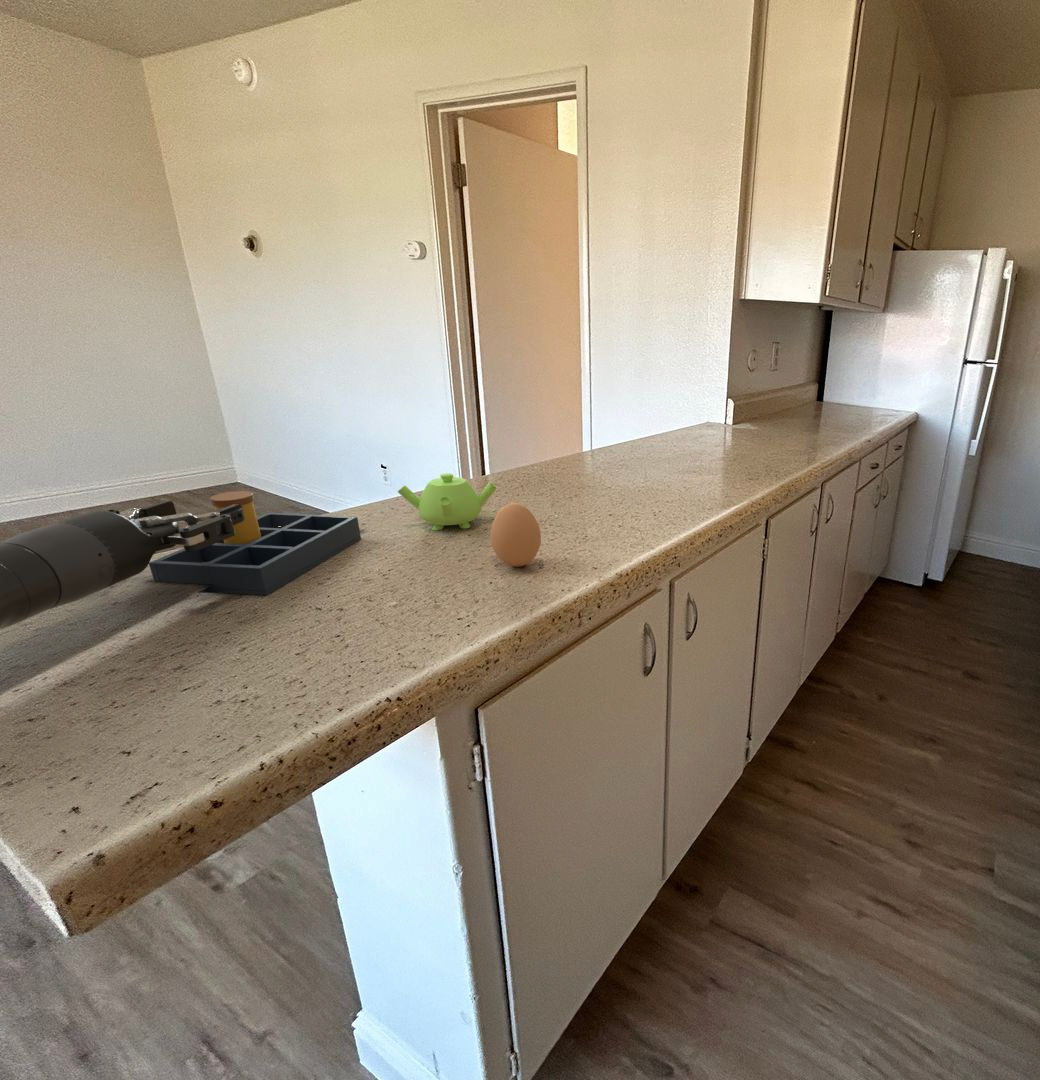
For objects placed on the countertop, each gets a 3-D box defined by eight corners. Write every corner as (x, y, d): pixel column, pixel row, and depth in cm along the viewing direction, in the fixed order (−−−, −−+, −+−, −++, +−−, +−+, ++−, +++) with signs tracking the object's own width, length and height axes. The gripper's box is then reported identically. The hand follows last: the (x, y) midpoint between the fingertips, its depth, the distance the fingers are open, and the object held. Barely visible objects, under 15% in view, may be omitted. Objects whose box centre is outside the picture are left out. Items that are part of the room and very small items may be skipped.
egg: (490, 575, 80) (483, 511, 77) (496, 557, 86) (491, 497, 83) (540, 573, 82) (536, 510, 78) (544, 555, 88) (540, 496, 84)
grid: (156, 590, 72) (148, 562, 71) (273, 534, 90) (268, 512, 89) (266, 595, 72) (260, 568, 71) (361, 539, 90) (357, 516, 89)
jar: (217, 560, 79) (201, 499, 76) (243, 548, 83) (228, 490, 80) (250, 562, 79) (235, 501, 76) (274, 550, 83) (261, 491, 80)
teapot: (457, 508, 106) (451, 462, 103) (504, 520, 101) (500, 472, 98) (400, 526, 96) (392, 475, 93) (449, 540, 92) (442, 487, 89)
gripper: (132, 527, 58) (256, 484, 73) (-15, 520, 58) (140, 478, 73) (154, 596, 60) (269, 540, 75) (14, 590, 60) (157, 535, 75)
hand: (206, 510), depth 74 cm, fingers open, 8 cm apart
